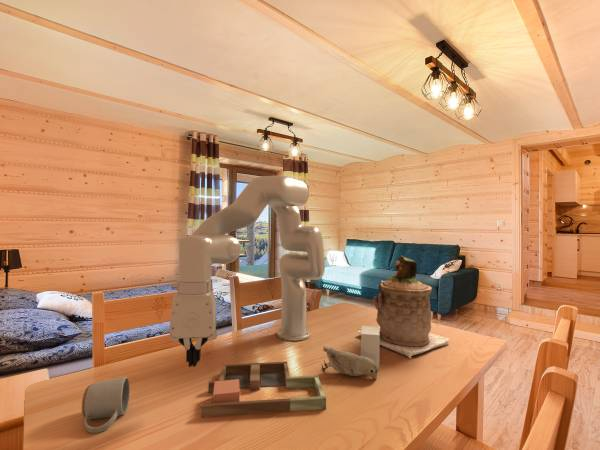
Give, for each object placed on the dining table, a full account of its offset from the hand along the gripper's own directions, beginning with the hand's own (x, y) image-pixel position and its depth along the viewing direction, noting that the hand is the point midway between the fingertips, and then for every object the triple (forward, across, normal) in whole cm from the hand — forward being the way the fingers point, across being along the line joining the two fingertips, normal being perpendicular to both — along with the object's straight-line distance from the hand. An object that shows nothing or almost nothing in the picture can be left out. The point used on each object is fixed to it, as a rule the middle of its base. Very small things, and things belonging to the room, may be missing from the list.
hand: (193, 364), depth 74 cm
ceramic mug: (+10, -18, -3) cm, 21 cm away
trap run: (+10, +17, +5) cm, 20 cm away
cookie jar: (+9, +69, +34) cm, 77 cm away
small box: (+9, +50, +17) cm, 53 cm away
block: (+10, +8, +1) cm, 13 cm away
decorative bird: (+10, +41, +10) cm, 44 cm away
